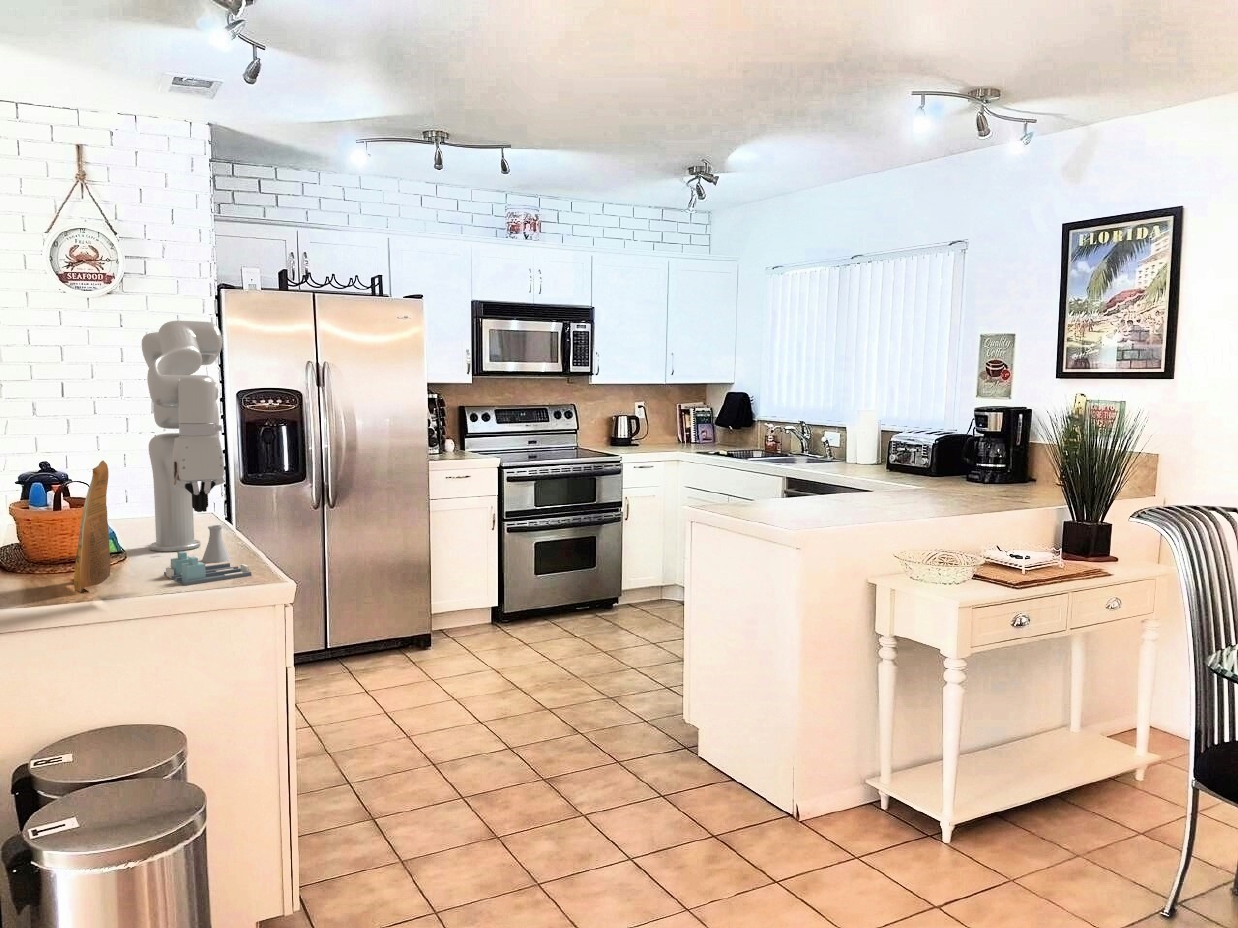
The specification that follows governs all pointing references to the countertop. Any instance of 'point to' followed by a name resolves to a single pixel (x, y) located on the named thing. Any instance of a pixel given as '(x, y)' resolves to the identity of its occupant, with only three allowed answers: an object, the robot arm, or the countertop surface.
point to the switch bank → (212, 574)
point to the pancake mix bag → (93, 534)
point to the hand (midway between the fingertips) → (200, 511)
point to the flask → (216, 546)
